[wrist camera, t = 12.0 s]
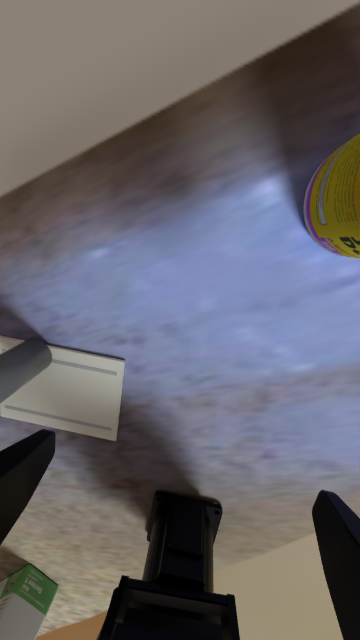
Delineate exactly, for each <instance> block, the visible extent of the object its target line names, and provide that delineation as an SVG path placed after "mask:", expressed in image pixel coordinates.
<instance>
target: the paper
mask: <svg viewBox="0 0 360 640" xmlns="http://www.w3.org/2000/svg"><path fill="white" fill-rule="evenodd" d="M24 341H25V340H20V339H15V338H10V337H5V336H0V354H2V353H3V352H5V351H7V350H9V349H11V348H13V347H15V346H17V345H18V344H20V343H22V342H24ZM47 346H48V347H49V349H50V351H51V353H52V361H51V364H50V365H49V366H48V367H47V368H46V369H45V370H43V371H42V372H41V373H39V374H38V375H37V376H35V377H34V378H33V379H32V380H30V381H29V382H28V383H26V384H25V385H24V386H22V387H21V388H20V389H19V390H17V391H16V392H15V393H13V394H12V395H11V396H9V397H8V398H7V399H6V400H4V401H3V402H2V403H0V414H1V416H2V417H6V418H11V419H16V420H20V421H25V422H29V423H34V424H39V425H43V426H48V427H52V428H57V429H61V430H66V431H71V432H75V433H80V434H84V435H89V436H94V437H98V438H103V439H107V440H112V441H116V440H117V434H118V425H119V416H120V406H121V397H122V387H123V378H124V369H125V360H121V359H116V358H111V357H106V356H101V355H96V354H91V353H86V352H81V351H76V350H71V349H65V348H60V347H55V346H50V345H47Z"/></svg>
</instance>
